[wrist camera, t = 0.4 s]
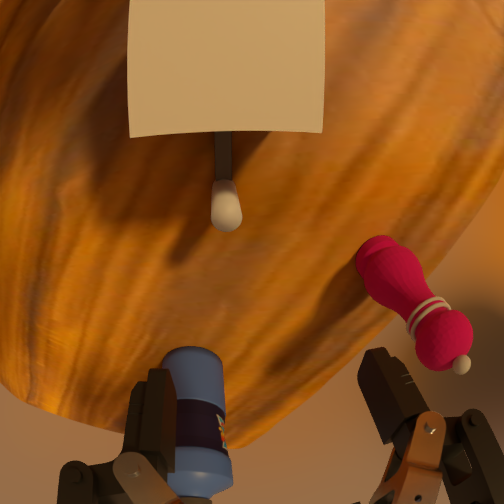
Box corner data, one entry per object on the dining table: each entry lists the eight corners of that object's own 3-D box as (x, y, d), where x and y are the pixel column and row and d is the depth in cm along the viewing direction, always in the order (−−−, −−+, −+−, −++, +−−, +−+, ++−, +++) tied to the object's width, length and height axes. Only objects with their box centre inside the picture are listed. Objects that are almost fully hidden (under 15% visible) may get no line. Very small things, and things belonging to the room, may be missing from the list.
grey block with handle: (191, 29, 22) (183, 6, 15) (255, 29, 23) (268, 5, 16) (195, 200, 31) (188, 233, 24) (253, 198, 31) (264, 230, 24)
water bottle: (161, 381, 44) (153, 529, 22) (161, 341, 39) (146, 519, 18) (219, 386, 45) (231, 533, 24) (228, 348, 41) (246, 523, 19)
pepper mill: (350, 285, 38) (423, 408, 21) (351, 236, 35) (448, 358, 17) (396, 274, 38) (479, 380, 21) (401, 227, 35) (507, 328, 17)
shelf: (161, 11, 21) (133, -32, 11) (286, 9, 22) (323, -31, 12) (160, 123, 26) (129, 137, 17) (284, 120, 28) (322, 132, 18)
